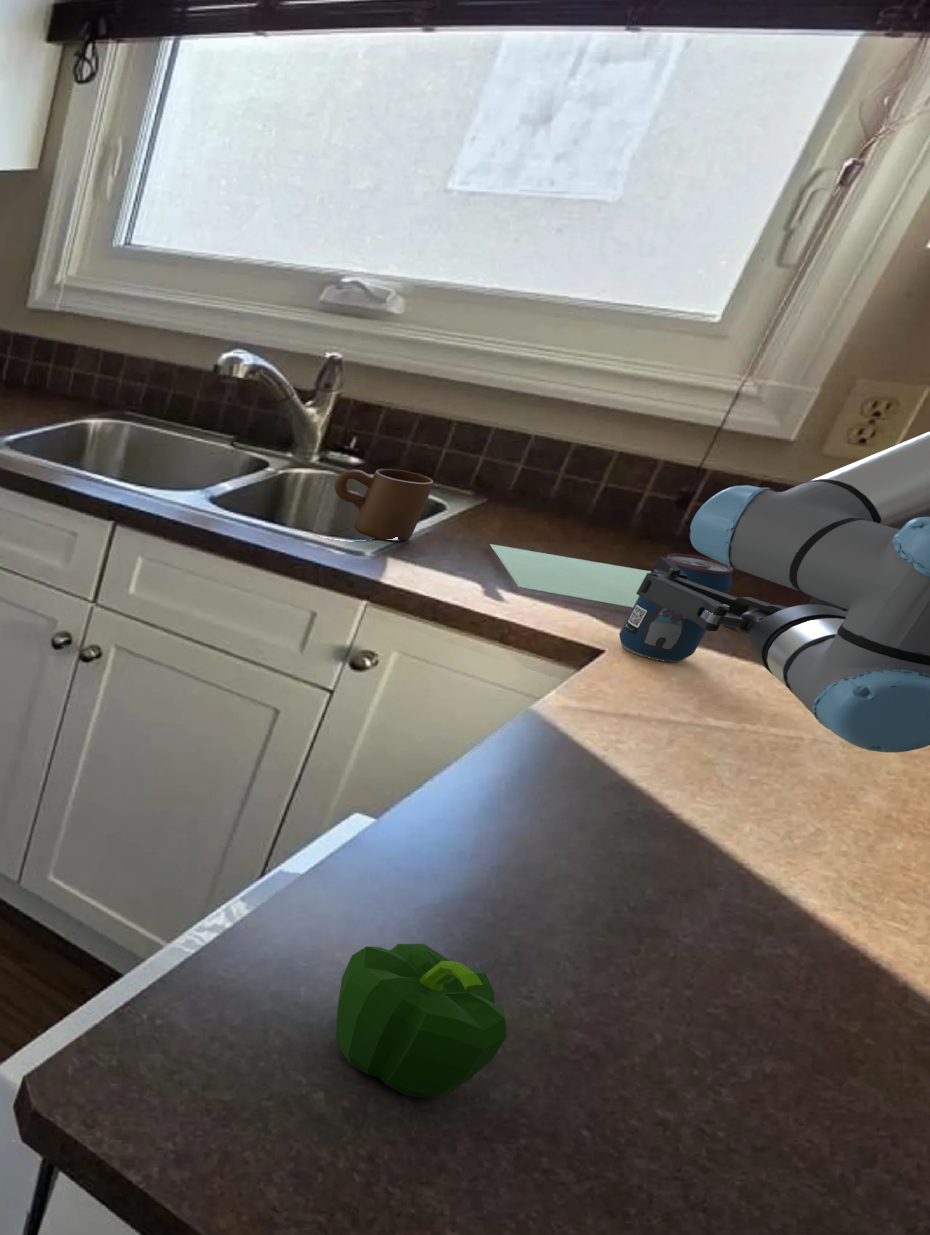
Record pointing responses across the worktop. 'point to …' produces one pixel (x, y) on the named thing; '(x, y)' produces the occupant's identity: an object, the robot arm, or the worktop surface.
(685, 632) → the soda can
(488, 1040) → the bell pepper
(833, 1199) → the worktop surface
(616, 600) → the mat
